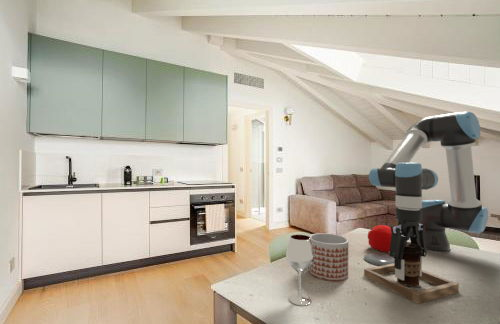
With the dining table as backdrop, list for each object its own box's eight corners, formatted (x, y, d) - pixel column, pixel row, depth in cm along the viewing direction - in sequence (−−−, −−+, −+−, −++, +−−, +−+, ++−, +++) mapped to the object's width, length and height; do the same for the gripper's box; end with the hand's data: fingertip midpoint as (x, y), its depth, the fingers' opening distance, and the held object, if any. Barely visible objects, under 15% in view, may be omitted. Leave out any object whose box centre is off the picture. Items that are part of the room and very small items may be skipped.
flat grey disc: (379, 253, 111) (379, 252, 111) (407, 264, 98) (407, 263, 98) (357, 257, 106) (357, 255, 106) (383, 269, 94) (383, 267, 94)
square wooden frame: (401, 268, 94) (401, 262, 94) (458, 292, 77) (458, 284, 77) (364, 276, 87) (364, 268, 87) (417, 303, 70) (417, 294, 70)
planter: (301, 271, 90) (301, 237, 91) (322, 262, 99) (322, 231, 99) (334, 285, 80) (335, 246, 80) (355, 274, 89) (355, 239, 89)
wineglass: (319, 299, 71) (319, 237, 72) (305, 311, 65) (306, 243, 66) (295, 289, 77) (295, 232, 77) (280, 300, 71) (280, 237, 71)
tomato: (400, 259, 112) (370, 252, 122) (405, 234, 117) (376, 229, 127) (391, 249, 105) (360, 242, 116) (396, 222, 110) (366, 217, 121)
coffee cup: (429, 290, 77) (428, 249, 77) (399, 288, 79) (399, 247, 79) (416, 278, 86) (416, 241, 86) (390, 276, 87) (390, 239, 87)
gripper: (417, 205, 90) (417, 267, 89) (376, 208, 82) (376, 276, 82) (439, 208, 83) (440, 276, 82) (397, 212, 75) (397, 286, 75)
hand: (408, 276), depth 82 cm, fingers closed on coffee cup, 8 cm apart
